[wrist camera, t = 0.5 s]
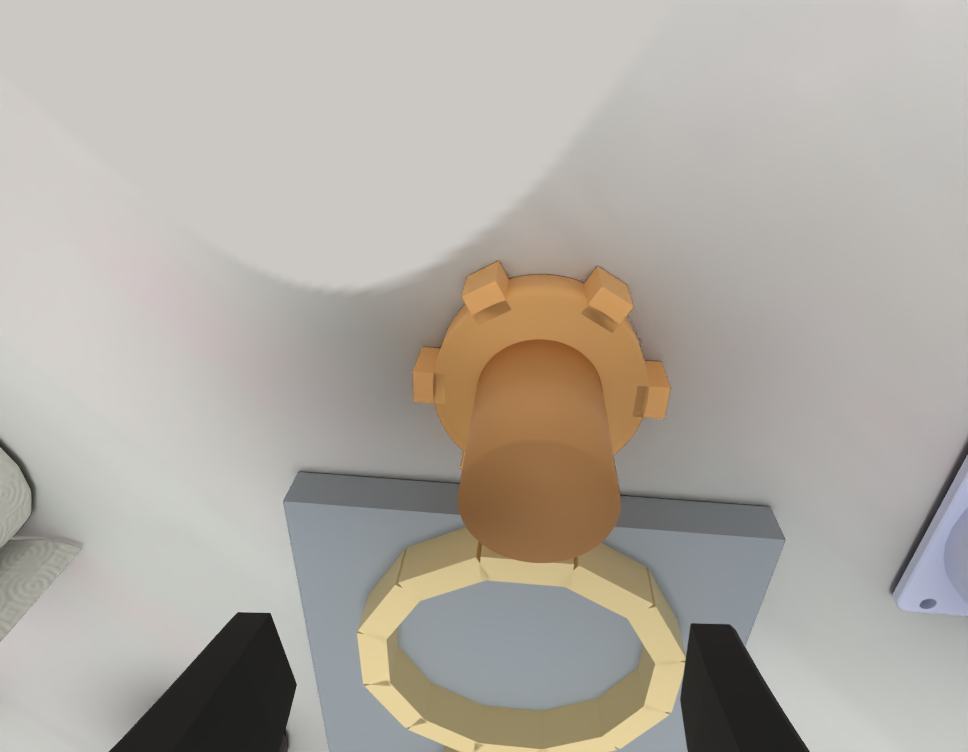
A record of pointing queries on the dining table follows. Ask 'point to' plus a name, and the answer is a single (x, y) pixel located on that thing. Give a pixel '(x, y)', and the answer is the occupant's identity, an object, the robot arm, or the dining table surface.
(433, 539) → the carrier plate
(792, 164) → the dining table surface
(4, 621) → the paper towel roll
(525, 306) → the planet gear
